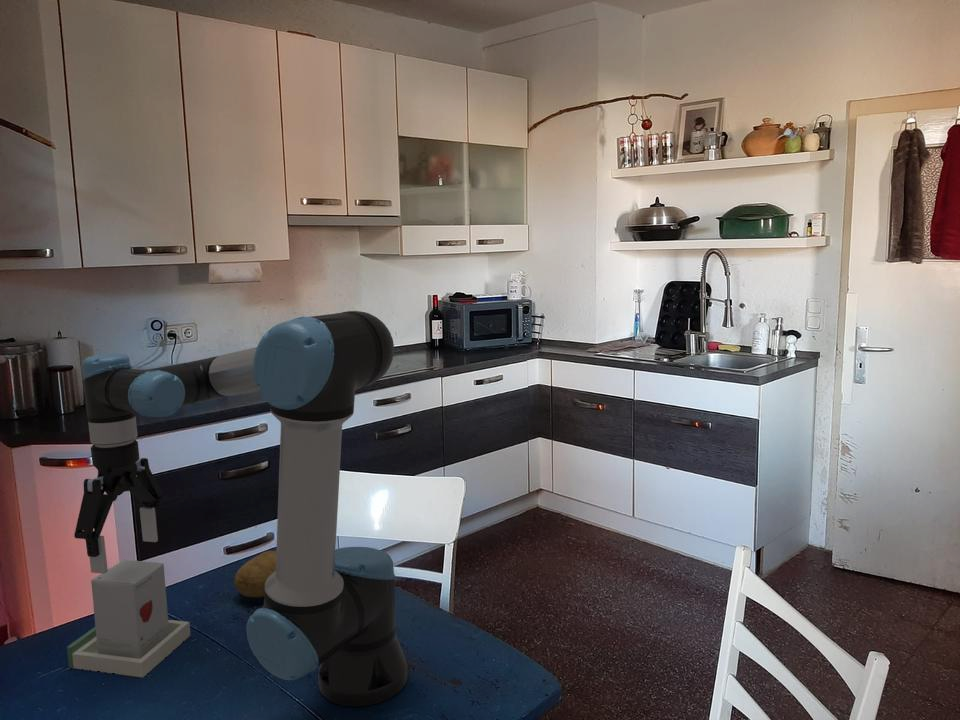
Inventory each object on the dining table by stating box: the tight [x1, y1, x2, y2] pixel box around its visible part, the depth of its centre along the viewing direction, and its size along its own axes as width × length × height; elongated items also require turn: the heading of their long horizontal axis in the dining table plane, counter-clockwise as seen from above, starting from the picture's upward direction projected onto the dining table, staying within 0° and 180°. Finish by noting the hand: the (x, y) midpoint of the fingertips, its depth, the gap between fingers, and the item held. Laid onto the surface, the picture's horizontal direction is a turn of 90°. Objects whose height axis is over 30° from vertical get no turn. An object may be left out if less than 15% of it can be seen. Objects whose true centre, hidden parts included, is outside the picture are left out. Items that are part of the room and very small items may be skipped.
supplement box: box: [90, 559, 169, 659], centre depth 136 cm, size 9×9×15 cm
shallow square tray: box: [66, 619, 191, 678], centre depth 137 cm, size 15×14×4 cm
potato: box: [233, 550, 276, 599], centre depth 159 cm, size 10×14×8 cm
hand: (126, 556), depth 134 cm, fingers open, 13 cm apart
